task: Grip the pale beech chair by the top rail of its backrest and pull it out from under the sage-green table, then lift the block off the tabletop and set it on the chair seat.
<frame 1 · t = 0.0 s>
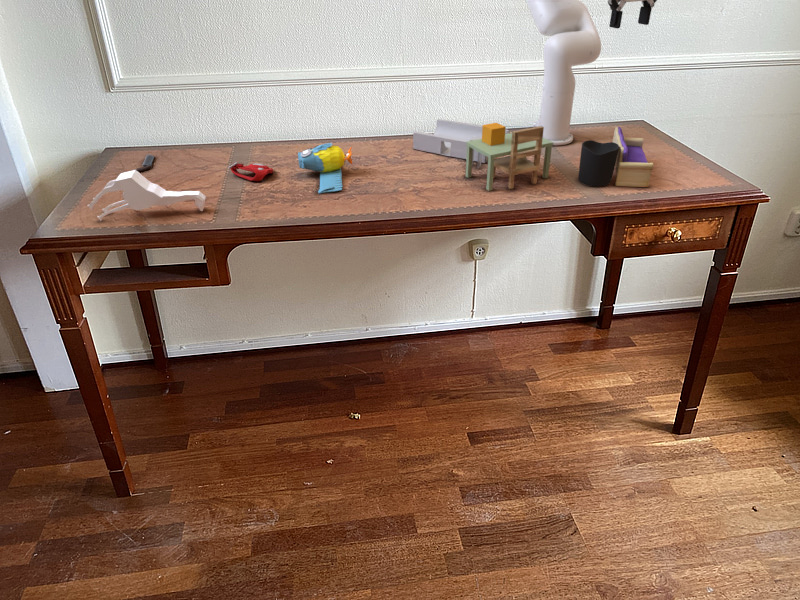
hand: (628, 25, 155), 37 cm above the table, tool pointing down, fingers open, 9 cm apart
block: (492, 142, 162), point 10 cm above the table
grey storage tray: (457, 151, 186), on the table
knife: (146, 163, 181), on the table
chair: (515, 153, 161), point 8 cm above the table, slide at 0.0 cm
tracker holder: (253, 176, 172), on the table
toy sofa: (627, 173, 168), on the table
blue yellow toy fish: (327, 174, 172), on the table
table: (506, 177, 168), on the table
pen holder: (594, 181, 164), on the table
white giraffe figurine: (152, 214, 152), on the table
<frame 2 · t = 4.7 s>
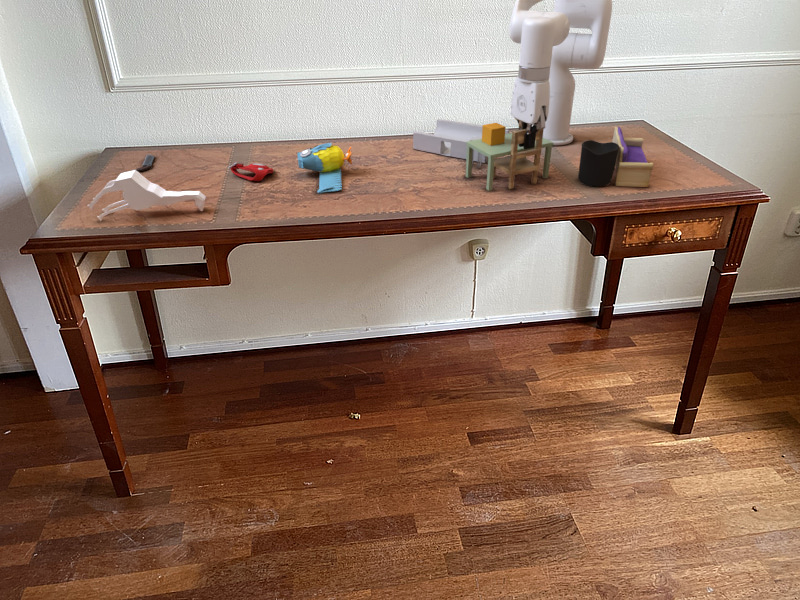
hand: (526, 146, 156), 11 cm above the table, tool pointing down, fingers closed
chair: (515, 153, 161), point 8 cm above the table, slide at 0.0 cm, touching gripper
everything else where it was.
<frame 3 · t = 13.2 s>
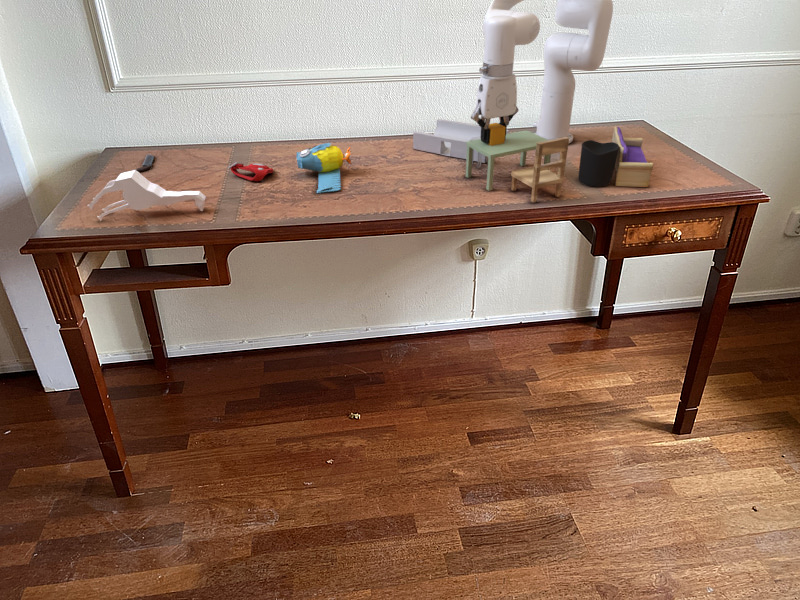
hand: (493, 140, 162), 11 cm above the table, tool pointing down, fingers closed on block, 4 cm apart
block: (492, 142, 162), point 10 cm above the table, touching gripper
chair: (538, 164, 154), point 8 cm above the table, slide at 9.9 cm
everything else where it was.
when the fingers open (6 cm above the table, at t = 20.6 s): block stays where it is, resting on chair.
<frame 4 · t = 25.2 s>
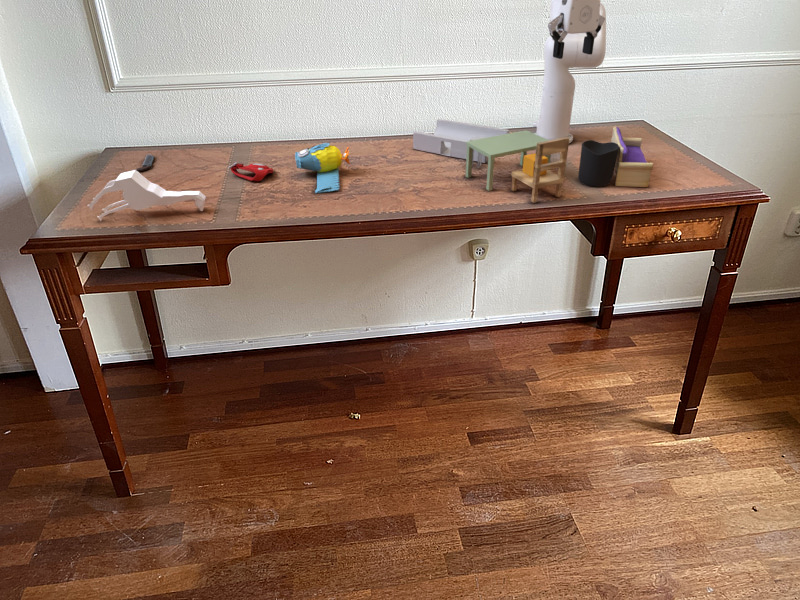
hand: (572, 55, 156), 30 cm above the table, tool pointing down, fingers open, 9 cm apart
block: (534, 173, 156), point 5 cm above the table, touching chair
chair: (538, 165, 154), point 8 cm above the table, slide at 10.0 cm, touching block
everything else where it was.
at the end: chair slide at 10.0 cm; block inside the target area (0.8 cm from its centre), point 5.2 cm above the table; block tilted 0° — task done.
